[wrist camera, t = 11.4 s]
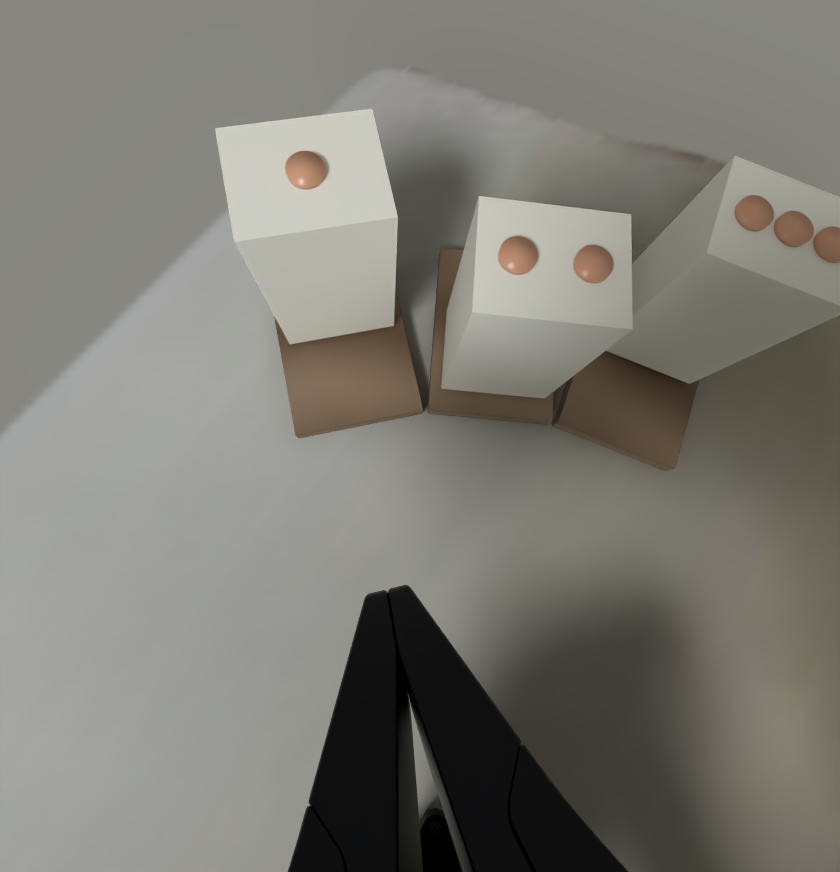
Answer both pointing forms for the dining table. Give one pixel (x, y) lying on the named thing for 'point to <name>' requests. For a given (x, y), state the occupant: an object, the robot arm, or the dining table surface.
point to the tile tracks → (399, 396)
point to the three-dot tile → (735, 273)
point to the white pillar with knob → (314, 220)
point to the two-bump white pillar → (536, 296)
